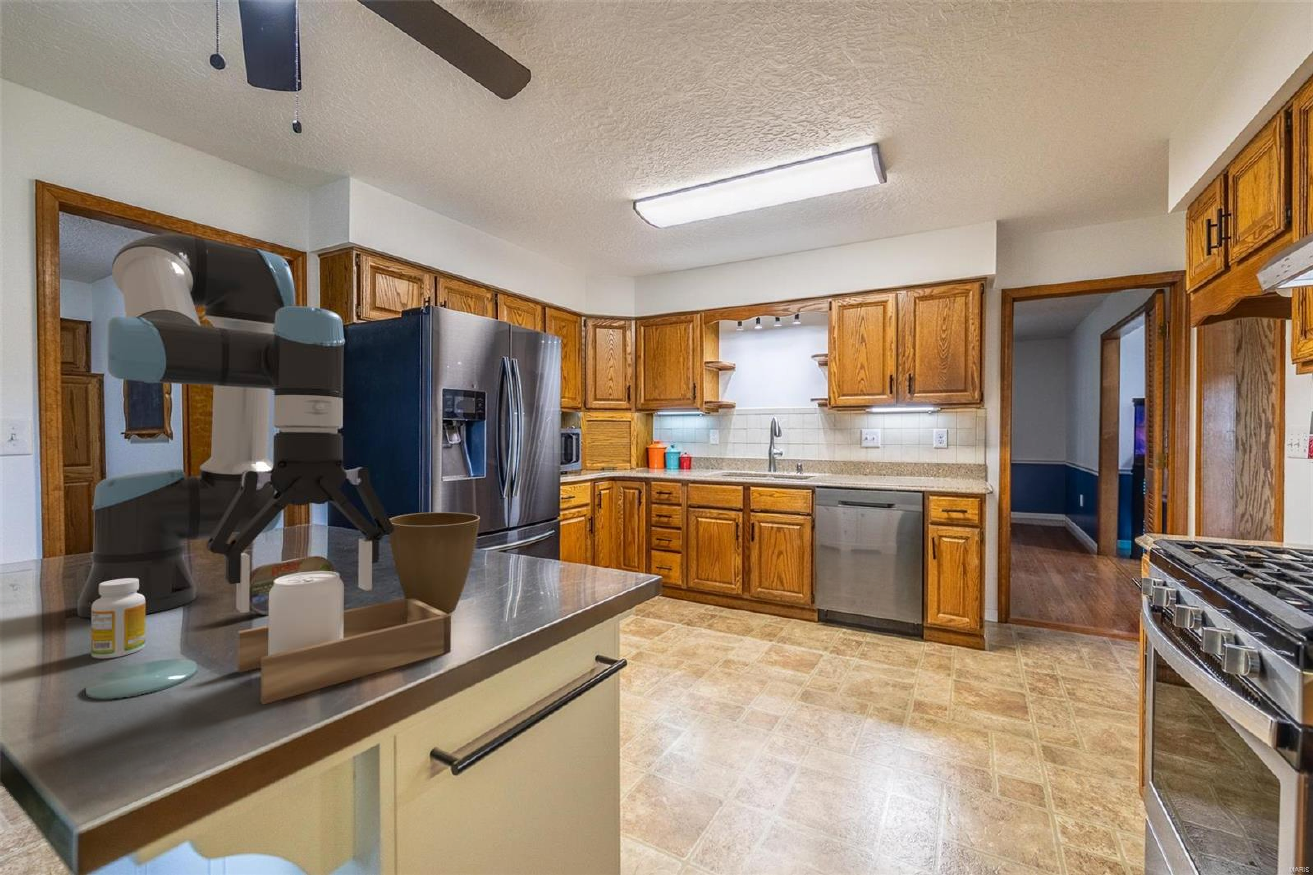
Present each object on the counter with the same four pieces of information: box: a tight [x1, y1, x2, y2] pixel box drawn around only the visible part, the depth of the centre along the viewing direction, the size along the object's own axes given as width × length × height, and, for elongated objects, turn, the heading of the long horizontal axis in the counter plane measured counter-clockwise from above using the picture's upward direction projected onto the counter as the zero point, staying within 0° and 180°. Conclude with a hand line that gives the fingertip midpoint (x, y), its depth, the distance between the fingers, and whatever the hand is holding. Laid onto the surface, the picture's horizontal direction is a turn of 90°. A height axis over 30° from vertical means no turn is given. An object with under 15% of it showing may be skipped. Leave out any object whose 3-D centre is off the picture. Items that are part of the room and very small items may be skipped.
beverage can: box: [268, 571, 345, 656], centre depth 72 cm, size 8×8×12 cm
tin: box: [249, 555, 336, 616], centre depth 98 cm, size 15×3×8 cm, turn 155°
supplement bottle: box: [90, 578, 146, 660], centre depth 78 cm, size 5×5×10 cm
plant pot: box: [388, 511, 481, 614], centre depth 98 cm, size 15×15×16 cm
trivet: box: [85, 658, 198, 700], centre depth 69 cm, size 10×10×1 cm
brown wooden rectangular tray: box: [237, 597, 452, 705], centre depth 75 cm, size 13×22×5 cm, turn 137°
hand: (308, 598), depth 71 cm, fingers open, 13 cm apart
